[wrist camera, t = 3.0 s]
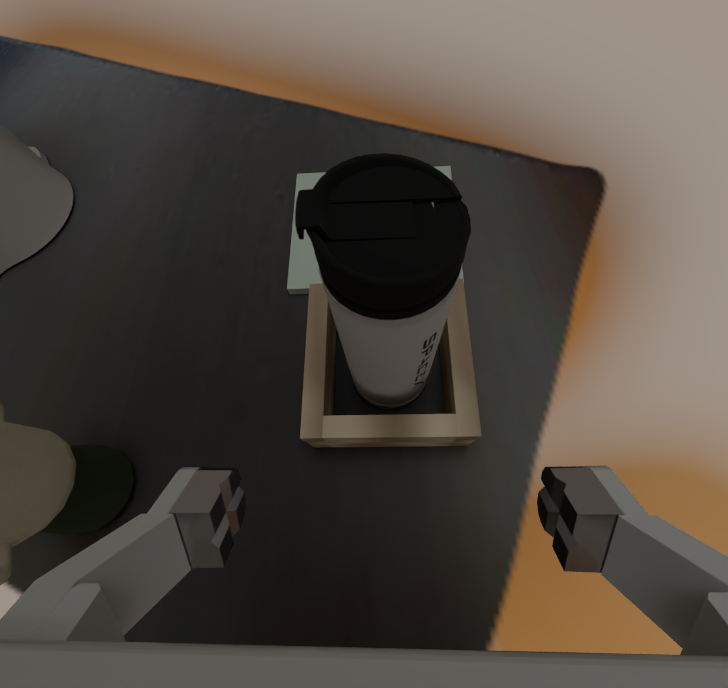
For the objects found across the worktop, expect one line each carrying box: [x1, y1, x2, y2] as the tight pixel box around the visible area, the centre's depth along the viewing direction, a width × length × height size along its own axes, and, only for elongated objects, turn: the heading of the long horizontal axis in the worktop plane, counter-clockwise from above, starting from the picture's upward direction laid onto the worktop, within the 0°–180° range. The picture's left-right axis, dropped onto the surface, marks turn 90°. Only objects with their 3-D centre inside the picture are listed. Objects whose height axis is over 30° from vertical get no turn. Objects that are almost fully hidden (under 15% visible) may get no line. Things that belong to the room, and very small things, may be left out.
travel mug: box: [295, 153, 471, 410], centre depth 23 cm, size 6×7×20 cm
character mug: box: [0, 403, 134, 585], centre depth 24 cm, size 11×7×13 cm, turn 23°
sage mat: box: [287, 166, 464, 295], centre depth 37 cm, size 16×14×1 cm
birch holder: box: [300, 278, 481, 447], centre depth 29 cm, size 12×12×5 cm
